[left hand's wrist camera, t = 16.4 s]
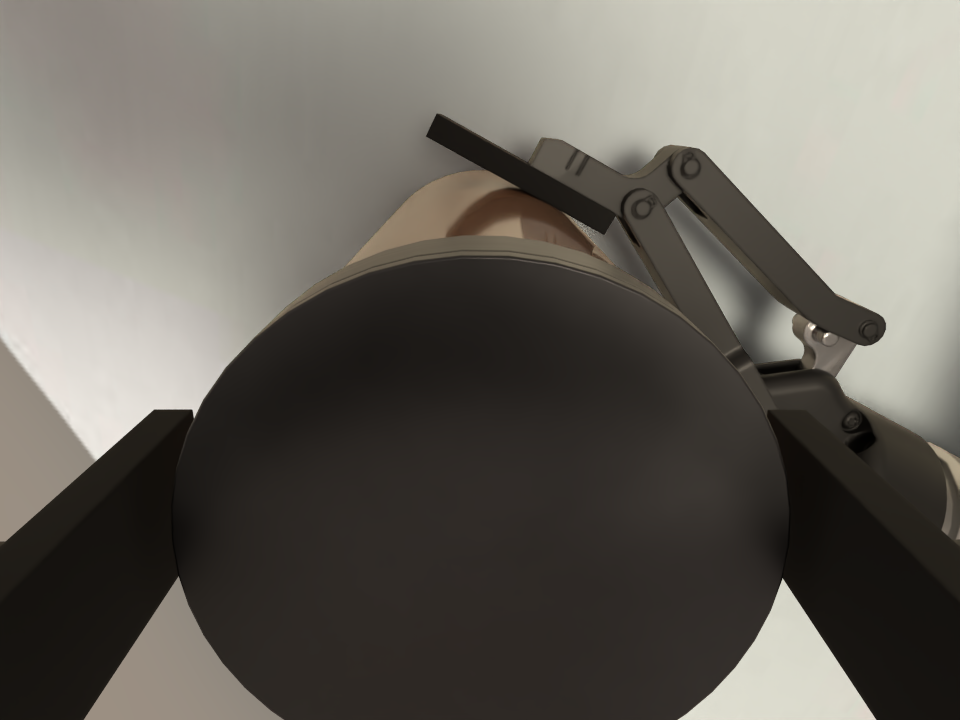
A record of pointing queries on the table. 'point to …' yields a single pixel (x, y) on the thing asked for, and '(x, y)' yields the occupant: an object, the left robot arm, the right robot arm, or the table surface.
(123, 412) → the table surface
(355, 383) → the lid
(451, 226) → the jar
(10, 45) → the table surface
